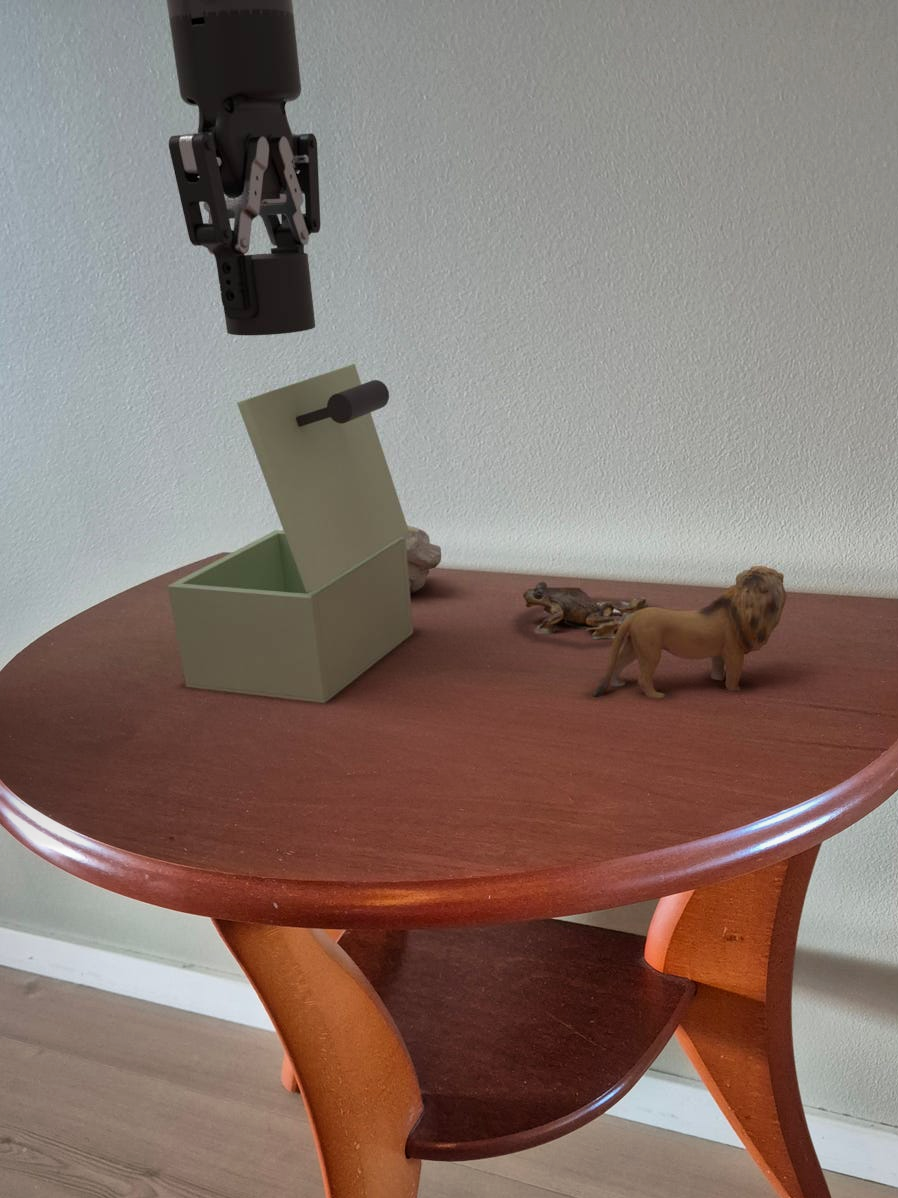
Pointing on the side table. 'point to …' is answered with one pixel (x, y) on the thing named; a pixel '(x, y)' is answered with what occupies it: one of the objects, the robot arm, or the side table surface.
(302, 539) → the lid
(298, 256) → the dark solid cylinder
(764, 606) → the lion figurine
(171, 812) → the side table surface
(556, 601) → the frog figurine
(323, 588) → the chest
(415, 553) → the fossil replica
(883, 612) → the side table surface
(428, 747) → the side table surface
